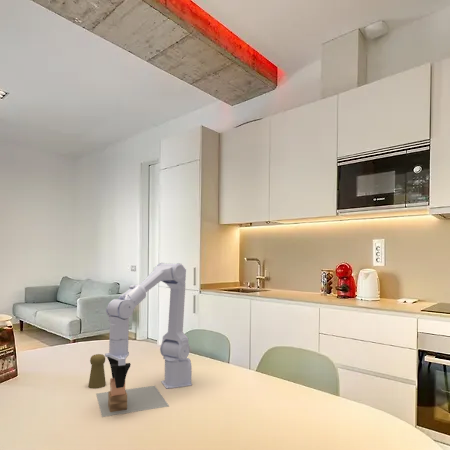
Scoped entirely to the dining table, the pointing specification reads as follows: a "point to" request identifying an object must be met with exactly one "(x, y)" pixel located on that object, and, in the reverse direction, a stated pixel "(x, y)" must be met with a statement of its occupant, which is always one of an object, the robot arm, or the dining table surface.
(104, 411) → the mat
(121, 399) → the tower top
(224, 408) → the dining table surface
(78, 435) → the dining table surface
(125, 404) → the tower bottom
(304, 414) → the dining table surface
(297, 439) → the dining table surface
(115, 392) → the cube
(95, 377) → the olive pawn
